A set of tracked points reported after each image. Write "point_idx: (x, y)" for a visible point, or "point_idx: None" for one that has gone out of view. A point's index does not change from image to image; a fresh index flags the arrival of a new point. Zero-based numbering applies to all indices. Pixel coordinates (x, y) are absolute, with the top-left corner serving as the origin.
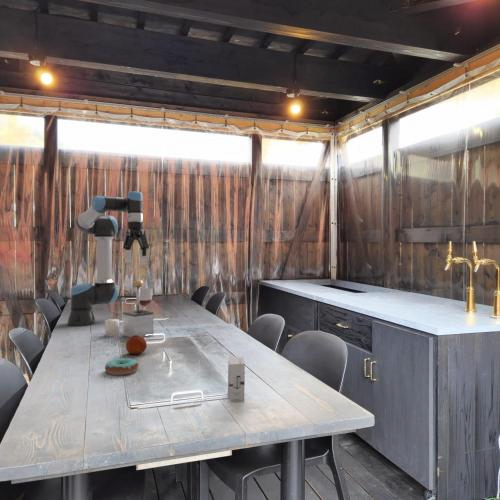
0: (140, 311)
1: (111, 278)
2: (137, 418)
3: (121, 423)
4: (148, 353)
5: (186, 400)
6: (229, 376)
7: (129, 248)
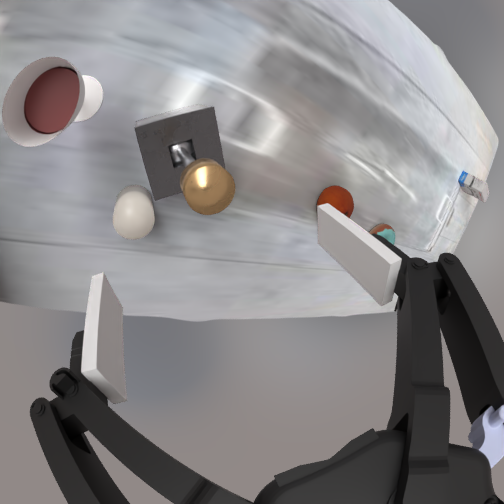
0: (169, 141)
1: None
2: (438, 250)
3: (435, 259)
4: (338, 181)
5: (446, 213)
6: (477, 198)
7: (89, 396)
